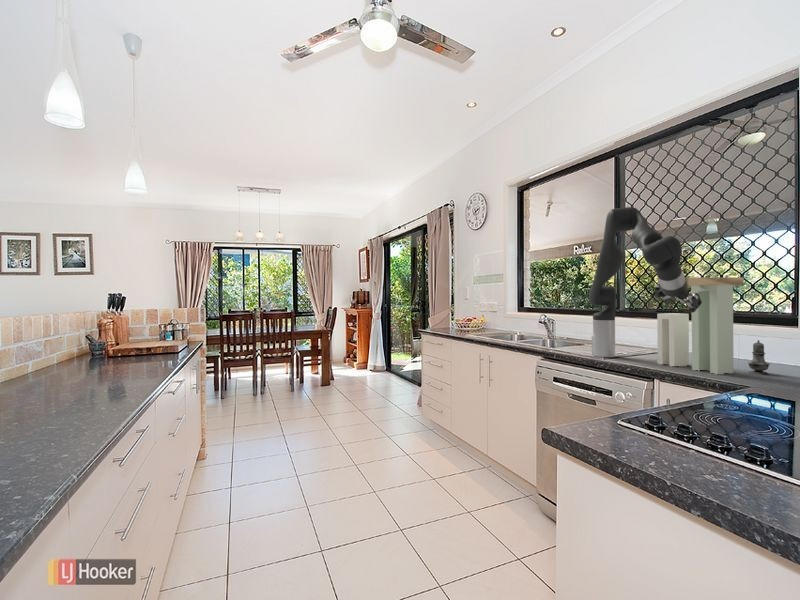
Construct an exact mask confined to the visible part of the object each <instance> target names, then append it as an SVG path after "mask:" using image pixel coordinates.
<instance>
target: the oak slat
mask: <svg viewBox="0 0 800 600" xmlns="http://www.w3.org/2000/svg"><path fill="white" fill-rule="evenodd" d="M685 280H686V283H687V287H691V286H714V285H733V287H735V286H739V287H740V286H745V285H744V283H745V282H744V280H745V279H744V277H743V276H742V277H741V276H740V277H737V276H736V277H732V276H731V277H730V276H729V277H728V276H727V277H719V276H718V277H710V276H709V277H707V276H706V277H704V276H703V277H695V276H693V277H691V276H690V277H689V276H688V277H685Z"/></svg>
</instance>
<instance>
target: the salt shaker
mask: <svg viewBox="0 0 800 600" xmlns="http://www.w3.org/2000/svg"><path fill="white" fill-rule="evenodd" d="M751 353H752V360H751V361H748V362H747V364H748V366H749V368H750V369H751V370H750V371H748V373H749V374H754V375H761V376H762V375H763V376H765V375H767V376H769V375H770V374H769V373H768V372H767V370H768V369H769V367H770V365H771V363H768V362H766V360H765V355H766V352H765V345H764V343H762V342H761V341H760V340H759V339H758V340H757V342H755V343H753V344H752V352H751Z"/></svg>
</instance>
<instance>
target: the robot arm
mask: <svg viewBox="0 0 800 600" xmlns="http://www.w3.org/2000/svg"><path fill="white" fill-rule="evenodd" d="M627 231H632V233H631V235H632V236H631V238H632V240H633V242H634V243H635V244H636V245H637V246H638V247H639V248H640V249H641V251H642V255H643V259H644V260H645V262H646V263H648V264H649V265H650V266H651V265H652V266H654V270H655V273H656V276H657V280H658V281H657V282H658V283H657V284H656V286H655V287H654V293H655V297H656V298H658V299H659V298H661V299H662V300H663V303H664V304H665V305H666V306H670V305H671V303H672V299H673V300H676V301H680V302H681V303H682V304H683V305H687V306H688V308H689V311H690V313H691V314H692V313H693V312H695V311H696V309H697V308H698V307H699V306H700V305H701V303H702V301H701V299H700V296H699V294H698V293H695V294H691V293H690V292H689V291H688V286H687V283H686V280H685V278H686V277H685V274H684V272H683V270H682V268H681V264H680V263H681V257H682V254H683V253H682V251H683V247H682V244H681V242H680V240H679V239H678V238H677V237H676V236H671V235H667V236H665V237H663V236H662V235H661V234H660V233H659V232H658V231H656V230H655V229H654V228H653V227H652V226H651V225H650V224H649V223H648V222H647V220H646V219H645V217H644V216H643V214H642V212H641V211H640V210H639V209H638V208H637V207H635V206H627V207H626V206H625V207H619V208H618V207H617V208H612V209H610V210H609V211H608V212H607V215H606V219H605V225H604V233H603V240H602V244H601V248H600V252H599V255H598V258H597V259H598V260H597V264H596V270H595V274H594V278H593V281H592V284H591V286H590V288H589V292H588V293H589V294H588V300H589V303H590V305H592V306H599V307H600V306H602V307H603V306H605V308H604V309H603V310H601V311H597V312H595V313H593V314H592V335H591V355H592V356H594V357H599V358H615V357H616V302H617V301H616V300H617V291H616V289H615V287H614V286H612V285H605V284H606V283H607V282H608V281H610V279H612V278H613V277H614V276H615V275H616V274H617V273H619V271H620V269H621V267H622V265H623V264H622V263H623V260H624V253H623V250H622V249H621V247H620V245H619V244H618V243H617V240H616V233H619V232H627ZM691 302H692V303H691Z"/></svg>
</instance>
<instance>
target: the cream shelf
mask: <svg viewBox="0 0 800 600" xmlns="http://www.w3.org/2000/svg"><path fill="white" fill-rule="evenodd" d="M656 318H657V319H656V320H657V321H656V322H657V365H661V364H662V365H663V364H666V365H668V366H669V367H672V366H679V367H687V365H689V366H690V319H689V318H690V315H689V313H679V312H677V313H676V312H675V313H674V312H672V313H671V312H668V313H666V312H664V313H657V317H656ZM662 365H661V366H662ZM663 366H664V365H663Z"/></svg>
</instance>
